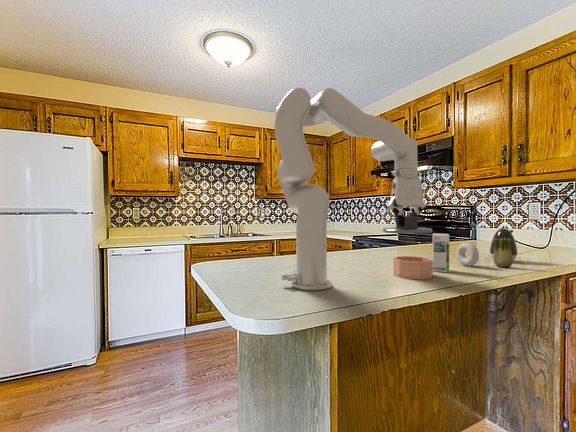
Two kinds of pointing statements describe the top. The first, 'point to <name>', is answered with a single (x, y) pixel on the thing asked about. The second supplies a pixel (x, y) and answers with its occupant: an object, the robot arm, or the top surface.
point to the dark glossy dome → (501, 235)
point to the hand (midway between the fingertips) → (406, 225)
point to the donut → (472, 254)
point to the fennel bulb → (502, 253)
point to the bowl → (412, 267)
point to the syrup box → (441, 252)
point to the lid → (408, 227)
